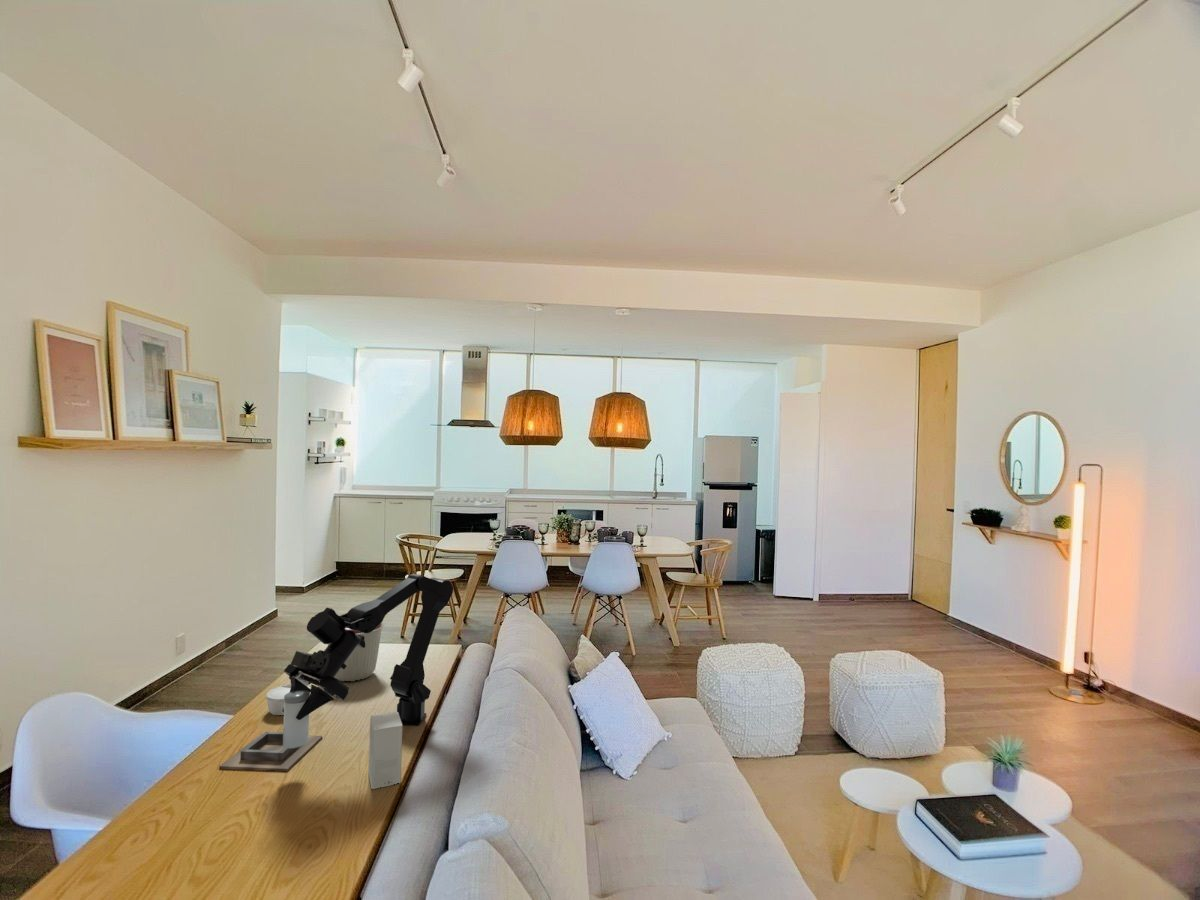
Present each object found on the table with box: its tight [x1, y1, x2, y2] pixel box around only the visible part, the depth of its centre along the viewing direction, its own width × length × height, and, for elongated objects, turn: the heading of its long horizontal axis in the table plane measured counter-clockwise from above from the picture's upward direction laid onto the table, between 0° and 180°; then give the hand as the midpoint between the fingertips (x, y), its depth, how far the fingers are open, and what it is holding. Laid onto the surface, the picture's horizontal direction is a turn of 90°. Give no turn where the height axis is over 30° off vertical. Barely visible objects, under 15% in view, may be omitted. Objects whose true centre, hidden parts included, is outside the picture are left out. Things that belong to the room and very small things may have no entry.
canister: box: [327, 621, 385, 682], centre depth 192 cm, size 18×18×21 cm
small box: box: [367, 711, 404, 790], centre depth 133 cm, size 8×6×13 cm
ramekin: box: [265, 684, 311, 716], centre depth 166 cm, size 11×11×5 cm
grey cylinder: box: [282, 690, 311, 748], centre depth 134 cm, size 5×5×11 cm
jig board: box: [218, 731, 323, 772], centre depth 142 cm, size 16×16×3 cm
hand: (290, 715), depth 133 cm, fingers closed on grey cylinder, 5 cm apart
